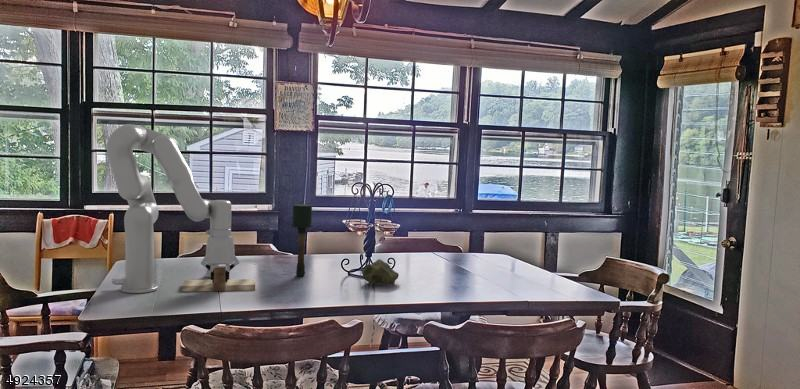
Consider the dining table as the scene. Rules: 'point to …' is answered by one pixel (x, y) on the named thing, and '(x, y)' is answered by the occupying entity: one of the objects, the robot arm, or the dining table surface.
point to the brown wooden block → (219, 278)
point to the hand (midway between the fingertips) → (219, 281)
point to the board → (209, 286)
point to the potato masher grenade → (301, 231)
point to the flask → (208, 273)
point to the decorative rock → (379, 273)
